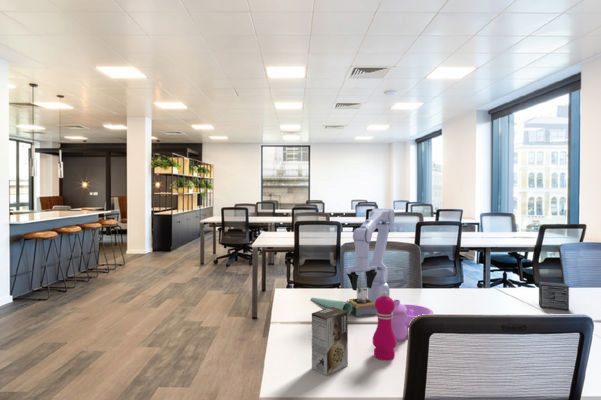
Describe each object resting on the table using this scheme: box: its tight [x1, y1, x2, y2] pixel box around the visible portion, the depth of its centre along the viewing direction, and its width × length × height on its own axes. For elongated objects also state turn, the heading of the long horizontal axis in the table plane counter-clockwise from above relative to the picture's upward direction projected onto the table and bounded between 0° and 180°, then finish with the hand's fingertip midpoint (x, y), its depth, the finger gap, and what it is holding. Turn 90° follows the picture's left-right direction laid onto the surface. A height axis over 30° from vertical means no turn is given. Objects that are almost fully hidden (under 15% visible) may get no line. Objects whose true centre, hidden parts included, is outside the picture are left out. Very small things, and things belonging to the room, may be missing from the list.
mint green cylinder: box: [310, 297, 352, 316], centre depth 168 cm, size 5×6×27 cm
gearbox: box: [346, 298, 377, 318], centre depth 161 cm, size 12×10×5 cm
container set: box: [391, 299, 434, 342], centre depth 140 cm, size 25×15×13 cm, turn 142°
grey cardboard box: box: [311, 307, 349, 376], centre depth 110 cm, size 9×6×16 cm
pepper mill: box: [372, 291, 397, 361], centre depth 118 cm, size 7×7×20 cm
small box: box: [538, 281, 570, 311], centre depth 168 cm, size 11×6×10 cm, turn 65°
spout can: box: [356, 284, 368, 304], centre depth 161 cm, size 4×4×8 cm
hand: (361, 288), depth 161 cm, fingers open, 7 cm apart
